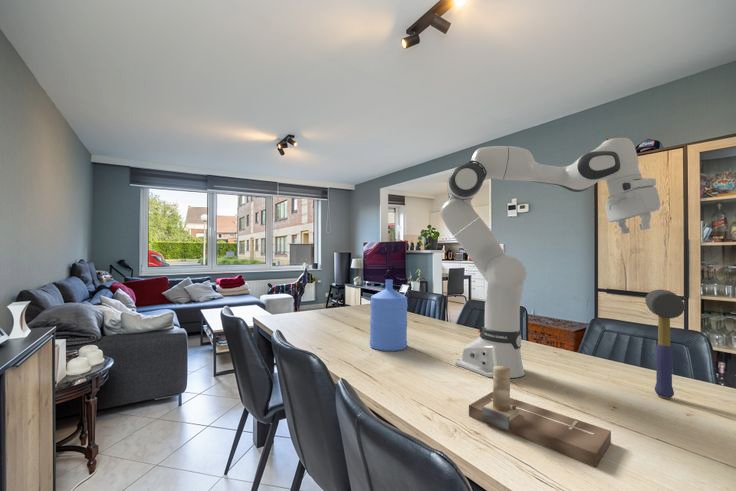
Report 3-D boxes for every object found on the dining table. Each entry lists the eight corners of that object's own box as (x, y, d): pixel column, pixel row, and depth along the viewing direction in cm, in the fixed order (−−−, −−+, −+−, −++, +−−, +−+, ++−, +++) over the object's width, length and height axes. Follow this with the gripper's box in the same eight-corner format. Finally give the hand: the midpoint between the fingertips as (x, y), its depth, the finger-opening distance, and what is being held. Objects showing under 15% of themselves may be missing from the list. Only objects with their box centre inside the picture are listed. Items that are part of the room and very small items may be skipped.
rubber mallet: (688, 409, 85) (687, 292, 86) (650, 402, 90) (649, 290, 90) (677, 393, 96) (676, 289, 96) (643, 387, 100) (643, 287, 101)
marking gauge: (482, 419, 77) (482, 368, 77) (493, 411, 81) (494, 362, 81) (508, 429, 72) (508, 375, 73) (518, 420, 76) (519, 369, 76)
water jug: (408, 352, 132) (409, 281, 132) (369, 351, 132) (370, 280, 132) (405, 341, 147) (405, 278, 148) (369, 341, 147) (370, 278, 148)
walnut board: (468, 415, 80) (468, 404, 80) (492, 401, 88) (492, 391, 89) (596, 467, 61) (596, 453, 61) (610, 442, 70) (610, 430, 70)
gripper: (597, 197, 115) (605, 237, 113) (635, 180, 95) (646, 228, 93) (616, 195, 114) (625, 234, 113) (659, 177, 94) (670, 224, 92)
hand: (635, 231), depth 103 cm, fingers open, 8 cm apart
